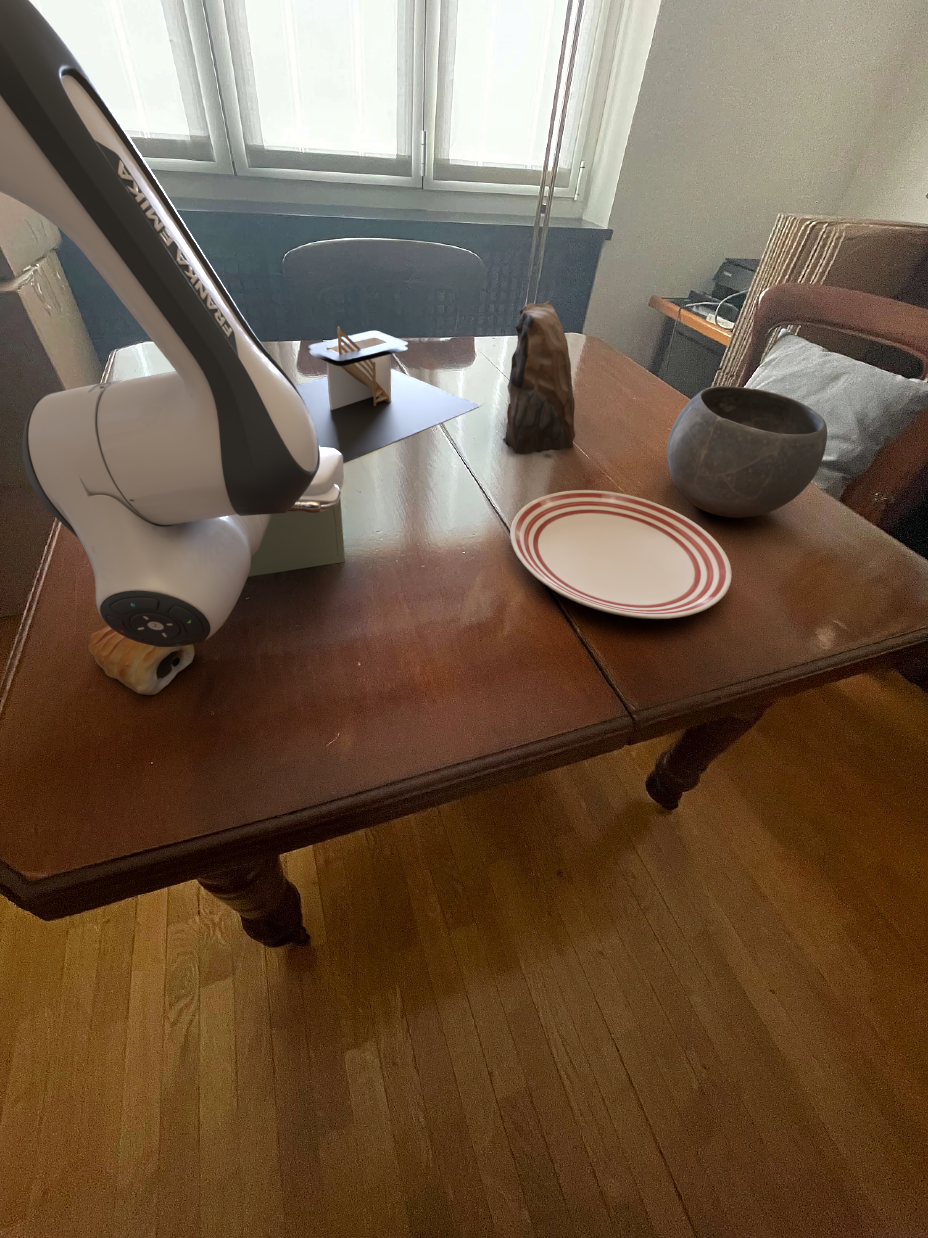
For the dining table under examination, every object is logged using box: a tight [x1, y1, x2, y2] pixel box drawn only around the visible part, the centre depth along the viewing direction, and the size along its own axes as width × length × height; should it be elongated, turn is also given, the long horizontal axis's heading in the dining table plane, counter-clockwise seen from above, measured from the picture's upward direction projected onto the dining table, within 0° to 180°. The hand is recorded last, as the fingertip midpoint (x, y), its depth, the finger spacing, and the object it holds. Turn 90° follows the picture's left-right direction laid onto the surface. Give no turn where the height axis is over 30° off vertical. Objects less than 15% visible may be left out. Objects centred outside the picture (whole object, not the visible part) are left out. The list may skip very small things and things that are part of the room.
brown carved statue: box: [502, 300, 576, 455], centre depth 89 cm, size 13×13×20 cm
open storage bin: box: [247, 446, 346, 578], centre depth 65 cm, size 15×15×9 cm
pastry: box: [87, 625, 196, 696], centre depth 51 cm, size 9×7×4 cm
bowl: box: [666, 385, 828, 519], centre depth 79 cm, size 20×20×15 cm
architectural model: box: [294, 326, 481, 464], centre depth 94 cm, size 35×28×14 cm
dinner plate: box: [509, 489, 732, 620], centre depth 69 cm, size 27×27×3 cm
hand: (256, 436), depth 60 cm, fingers open, 8 cm apart
